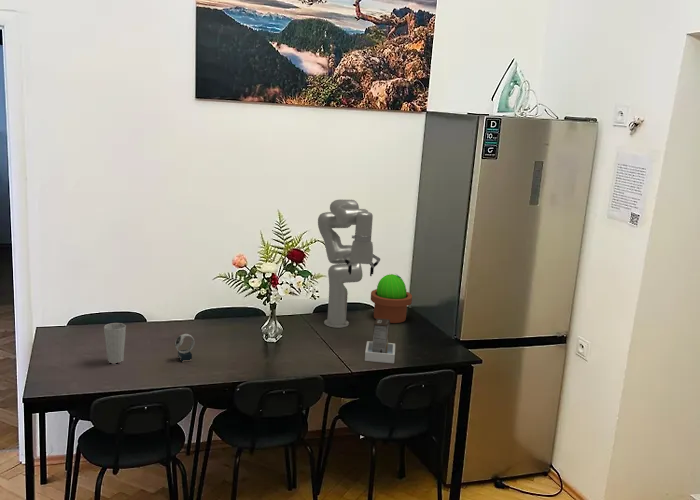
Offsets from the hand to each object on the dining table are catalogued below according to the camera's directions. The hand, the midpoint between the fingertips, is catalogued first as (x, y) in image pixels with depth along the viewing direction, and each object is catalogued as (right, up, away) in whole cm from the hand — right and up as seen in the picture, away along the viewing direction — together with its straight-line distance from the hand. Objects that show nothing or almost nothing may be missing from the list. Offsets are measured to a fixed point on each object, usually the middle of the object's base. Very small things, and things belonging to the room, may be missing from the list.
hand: (360, 274), depth 286 cm
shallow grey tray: (+9, -36, -8) cm, 38 cm away
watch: (-75, -35, -25) cm, 86 cm away
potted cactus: (+16, -25, +46) cm, 55 cm away
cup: (-102, -35, -32) cm, 112 cm away
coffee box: (+8, -36, -8) cm, 38 cm away
